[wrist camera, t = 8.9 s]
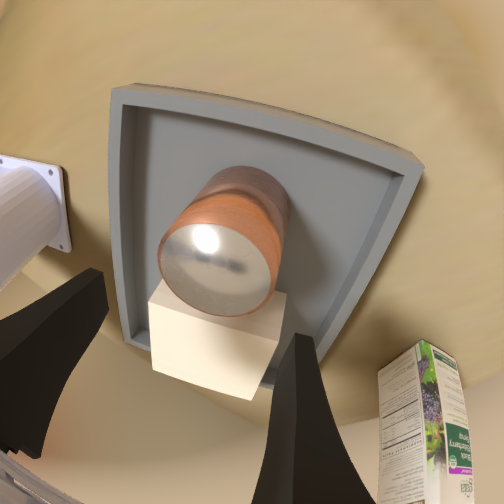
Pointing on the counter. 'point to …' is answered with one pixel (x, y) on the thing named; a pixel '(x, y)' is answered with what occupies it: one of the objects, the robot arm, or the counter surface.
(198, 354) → the plain cream box
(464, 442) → the syrup box
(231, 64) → the counter surface
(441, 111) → the counter surface
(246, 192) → the tin can
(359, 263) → the tray
